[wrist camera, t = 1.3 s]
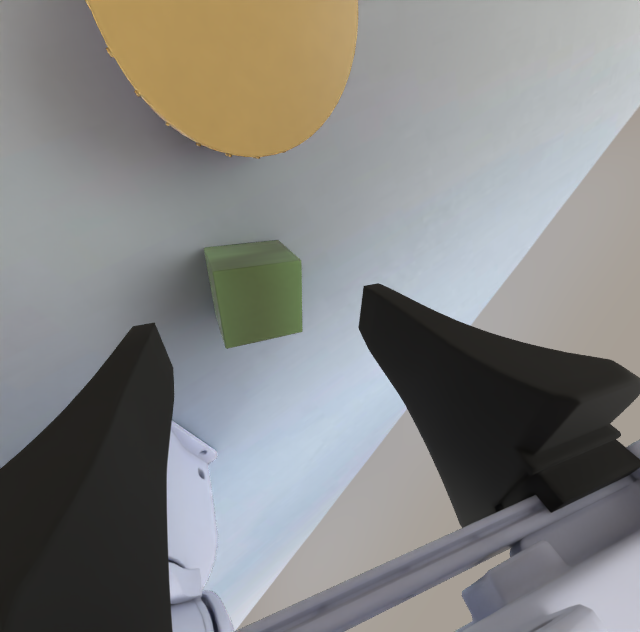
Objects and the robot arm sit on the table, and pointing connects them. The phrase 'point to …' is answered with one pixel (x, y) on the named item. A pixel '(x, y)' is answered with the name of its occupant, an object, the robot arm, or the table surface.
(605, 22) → the table surface
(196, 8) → the lid
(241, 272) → the block
